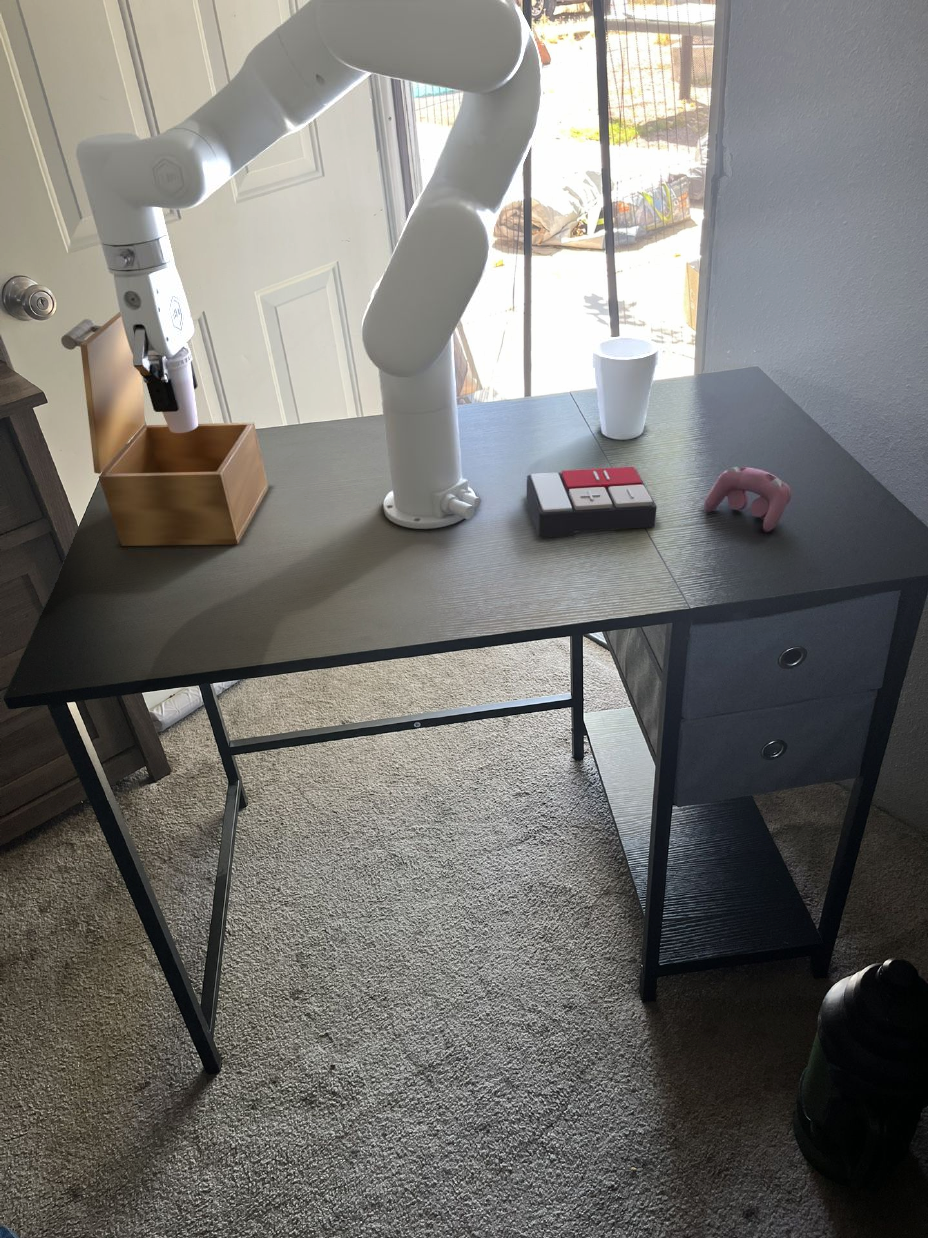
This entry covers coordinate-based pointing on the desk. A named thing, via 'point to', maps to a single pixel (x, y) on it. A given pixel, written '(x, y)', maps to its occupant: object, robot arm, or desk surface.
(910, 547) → the desk surface
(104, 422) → the box lid
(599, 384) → the foam cup
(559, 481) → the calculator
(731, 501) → the video game controller
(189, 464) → the box
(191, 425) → the smoothie
